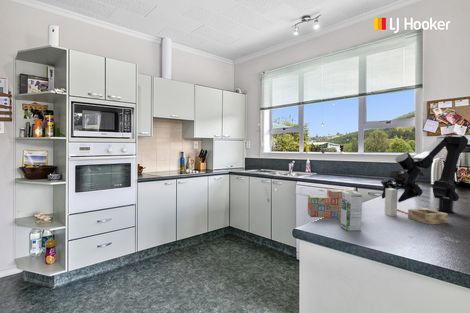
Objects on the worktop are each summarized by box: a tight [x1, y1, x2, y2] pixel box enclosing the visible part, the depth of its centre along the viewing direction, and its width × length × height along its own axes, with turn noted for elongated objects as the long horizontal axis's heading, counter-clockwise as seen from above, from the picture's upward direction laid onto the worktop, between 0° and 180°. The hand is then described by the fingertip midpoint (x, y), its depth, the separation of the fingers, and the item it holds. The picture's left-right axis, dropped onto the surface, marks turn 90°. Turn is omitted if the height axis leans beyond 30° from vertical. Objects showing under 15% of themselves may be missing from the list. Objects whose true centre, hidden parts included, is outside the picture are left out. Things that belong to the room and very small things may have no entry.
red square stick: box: [397, 208, 408, 215], centre depth 130 cm, size 14×1×1 cm, turn 1°
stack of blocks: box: [307, 188, 360, 219], centre depth 120 cm, size 21×6×12 cm, turn 87°
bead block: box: [407, 207, 449, 225], centre depth 115 cm, size 10×10×4 cm
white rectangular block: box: [384, 188, 399, 217], centre depth 123 cm, size 4×4×12 cm
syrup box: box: [340, 190, 363, 232], centre depth 102 cm, size 6×6×14 cm
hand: (390, 199), depth 123 cm, fingers open, 9 cm apart
